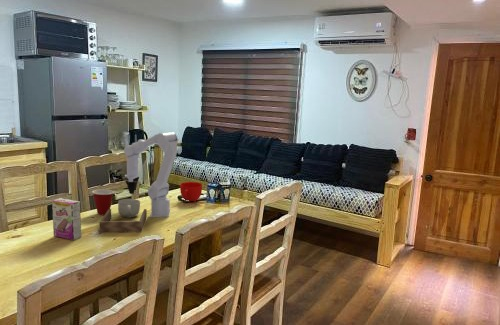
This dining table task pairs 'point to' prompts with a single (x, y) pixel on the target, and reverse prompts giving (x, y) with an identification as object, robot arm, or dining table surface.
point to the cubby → (121, 224)
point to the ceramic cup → (191, 190)
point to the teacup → (128, 207)
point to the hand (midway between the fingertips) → (132, 191)
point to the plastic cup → (103, 200)
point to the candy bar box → (66, 218)
